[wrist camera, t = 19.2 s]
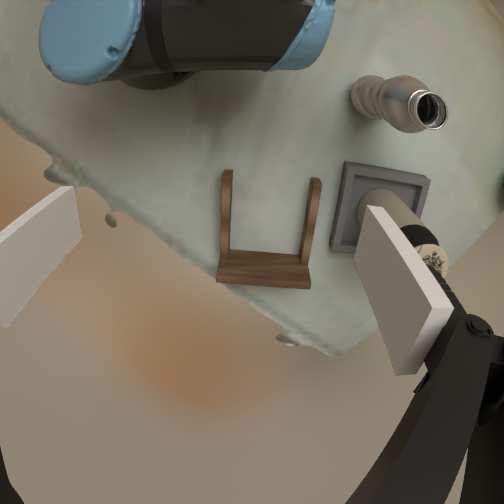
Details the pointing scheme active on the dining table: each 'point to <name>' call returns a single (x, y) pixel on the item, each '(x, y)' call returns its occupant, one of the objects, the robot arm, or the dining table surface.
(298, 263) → the walnut dock
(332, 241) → the charcoal tray
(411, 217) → the travel mug
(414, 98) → the metal bottle
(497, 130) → the dining table surface
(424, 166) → the dining table surface
